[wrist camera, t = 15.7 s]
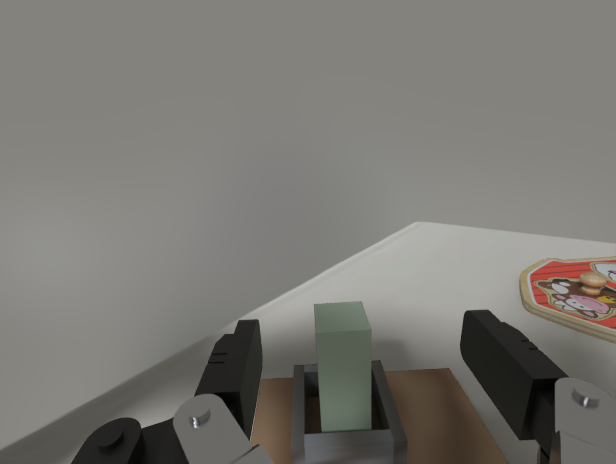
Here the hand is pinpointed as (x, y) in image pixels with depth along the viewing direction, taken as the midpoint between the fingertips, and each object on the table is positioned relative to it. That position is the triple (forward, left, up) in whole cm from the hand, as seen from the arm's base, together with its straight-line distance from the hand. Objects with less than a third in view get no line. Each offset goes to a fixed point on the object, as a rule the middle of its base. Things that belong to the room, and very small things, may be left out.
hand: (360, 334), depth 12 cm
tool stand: (+2, +11, -18) cm, 21 cm away
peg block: (0, +11, -17) cm, 20 cm away
